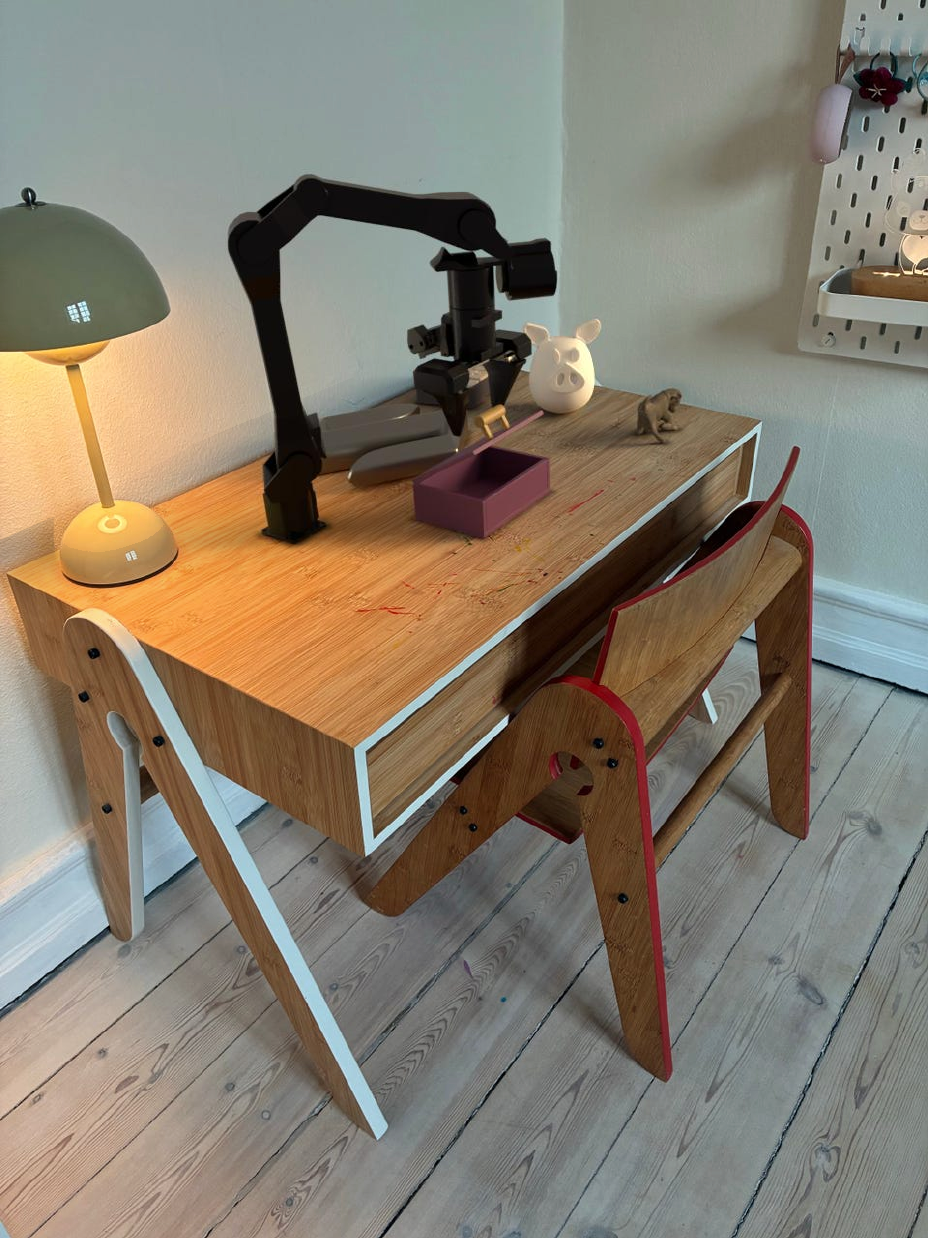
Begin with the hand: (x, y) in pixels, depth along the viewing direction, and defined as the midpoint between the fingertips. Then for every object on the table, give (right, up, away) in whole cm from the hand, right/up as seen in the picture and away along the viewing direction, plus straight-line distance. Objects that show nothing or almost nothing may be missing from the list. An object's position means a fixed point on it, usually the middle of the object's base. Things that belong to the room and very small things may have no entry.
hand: (477, 424), depth 128 cm
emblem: (-14, 0, +24) cm, 28 cm away
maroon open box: (+1, -10, +6) cm, 12 cm away
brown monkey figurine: (+29, +4, +26) cm, 39 cm away
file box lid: (0, -3, +2) cm, 3 cm away
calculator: (-2, +15, +47) cm, 49 cm away
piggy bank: (+15, +9, +36) cm, 40 cm away
